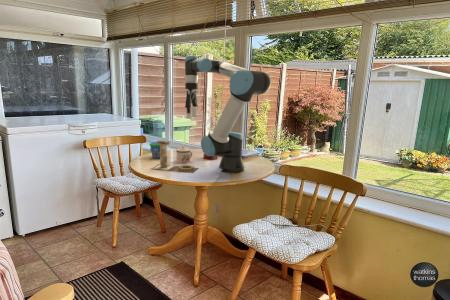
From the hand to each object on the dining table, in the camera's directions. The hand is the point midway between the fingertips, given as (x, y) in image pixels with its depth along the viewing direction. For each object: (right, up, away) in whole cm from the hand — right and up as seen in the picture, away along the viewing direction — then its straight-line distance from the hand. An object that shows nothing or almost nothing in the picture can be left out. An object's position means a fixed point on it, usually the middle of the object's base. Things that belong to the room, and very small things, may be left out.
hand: (191, 117), depth 188 cm
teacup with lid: (-5, -29, +10) cm, 31 cm away
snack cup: (-26, -25, +23) cm, 43 cm away
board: (-9, -32, -10) cm, 35 cm away
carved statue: (-15, -30, -9) cm, 35 cm away
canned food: (+10, -26, +25) cm, 38 cm away
